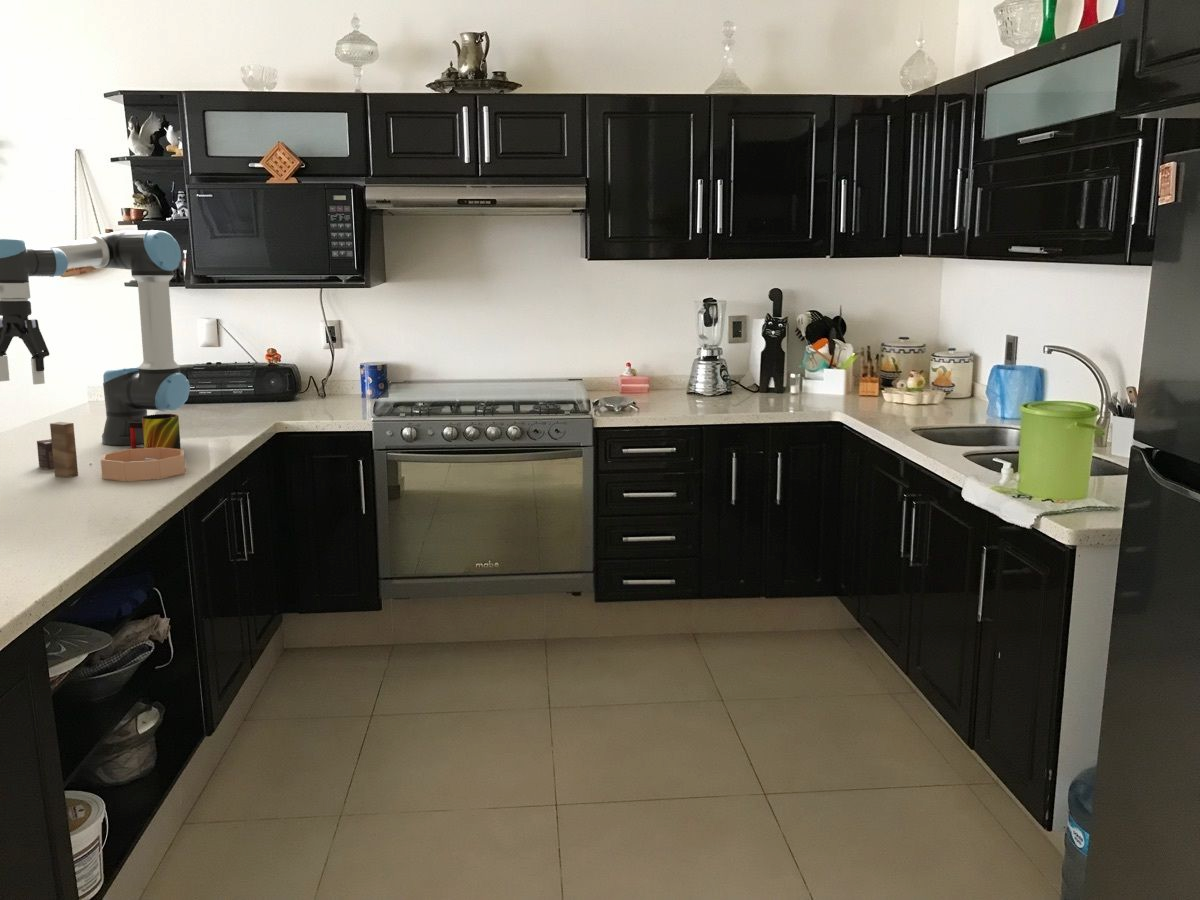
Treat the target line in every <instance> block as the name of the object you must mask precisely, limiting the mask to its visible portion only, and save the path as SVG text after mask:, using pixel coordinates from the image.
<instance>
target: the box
mask: <svg viewBox="0 0 1200 900" xmlns="http://www.w3.org/2000/svg"><path fill="white" fill-rule="evenodd" d="M36 447H37V458H38V467H40V468H43V469H47V470H52V469H53V470H54V461H53V451H52V440H51V438H50V439H43V440H36Z"/></svg>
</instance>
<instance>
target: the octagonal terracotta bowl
mask: <svg viewBox="0 0 1200 900" xmlns="http://www.w3.org/2000/svg"><path fill="white" fill-rule="evenodd" d="M100 467H101V468H100V469H101V478H102V480H110V481H117V482H118V481H119V482H125V481H128V482H139V481H140V482H141V481H142V482H143V481H152V480H151V479H157V480H163V479H167V478H171V477H176V476H180V475H184V474H185V473H186V463H185V450H184V449H182V448H181V449H173V448H163V447H157V448H139V449H131V448H128V449H122V450H118V451H113V452H108V453H102V456H101V458H100Z"/></svg>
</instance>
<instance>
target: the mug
mask: <svg viewBox="0 0 1200 900" xmlns="http://www.w3.org/2000/svg"><path fill="white" fill-rule="evenodd" d="M179 420H180V419H179V415H178V414H174V413H160V414H159V413H158V414H156V413H155V414H147V416H143V417H142V423H140V422H130V435H131V445H130V449H139V448H157V447H163V448H173V449H182V445H181V436H180V435H181V433H180V421H179ZM135 428H142V429H143V436H144V443H143V444H144V445H143V446H137V444H136V435H135Z"/></svg>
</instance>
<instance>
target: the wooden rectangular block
mask: <svg viewBox="0 0 1200 900" xmlns="http://www.w3.org/2000/svg"><path fill="white" fill-rule="evenodd" d="M49 427H50V428H49V429H50V439H51V440H52V451H53V461H54V469H53V470H54V476H55V477H63V478H73V477H77V476H79V472H78V471H79V469H78V460H77V457H78V456H77V448H76V437H75V425H74V422H65V421H57V422H50V423H49Z"/></svg>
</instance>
